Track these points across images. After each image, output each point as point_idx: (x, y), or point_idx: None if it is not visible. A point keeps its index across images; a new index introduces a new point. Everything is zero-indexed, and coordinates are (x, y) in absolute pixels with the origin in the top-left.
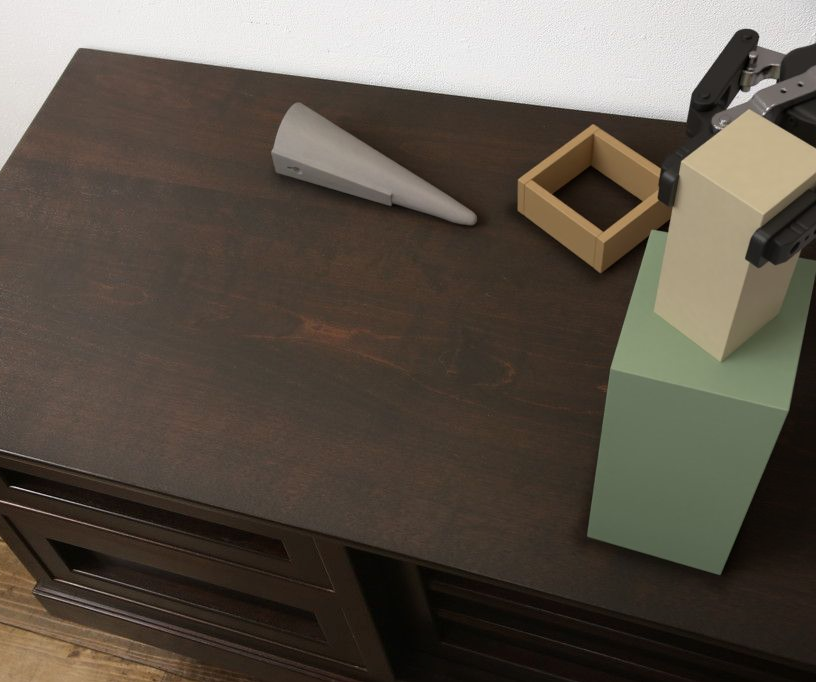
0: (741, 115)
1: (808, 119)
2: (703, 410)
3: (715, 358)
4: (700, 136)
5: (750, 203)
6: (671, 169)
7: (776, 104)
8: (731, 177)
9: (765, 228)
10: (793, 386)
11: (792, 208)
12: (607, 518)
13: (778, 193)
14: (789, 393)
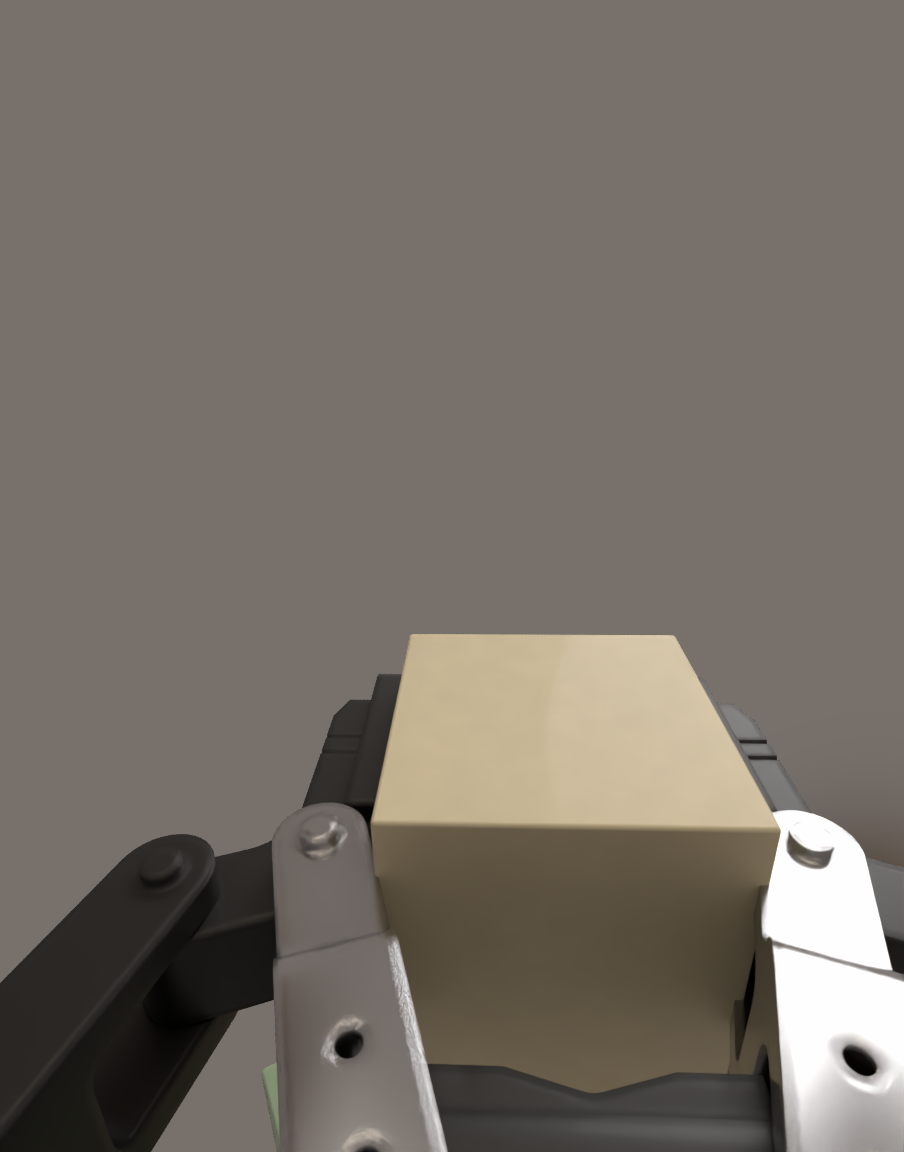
0: (758, 791)
1: (649, 1099)
2: None
3: None
4: (795, 810)
5: (455, 635)
6: None
7: (776, 959)
8: (549, 655)
9: (400, 678)
10: (276, 1134)
11: (384, 737)
12: None
13: (423, 675)
14: (276, 1110)
